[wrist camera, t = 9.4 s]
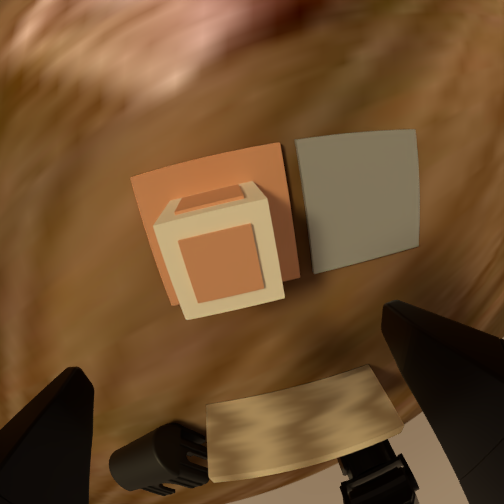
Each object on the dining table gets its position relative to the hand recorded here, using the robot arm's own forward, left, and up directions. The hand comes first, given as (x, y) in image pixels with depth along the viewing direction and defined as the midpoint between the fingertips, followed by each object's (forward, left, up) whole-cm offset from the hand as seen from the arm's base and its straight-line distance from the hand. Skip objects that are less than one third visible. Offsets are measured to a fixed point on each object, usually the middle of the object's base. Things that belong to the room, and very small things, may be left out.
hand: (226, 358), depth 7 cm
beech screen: (-3, +19, -12) cm, 22 cm away
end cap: (+13, +22, -12) cm, 28 cm away
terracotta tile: (0, 0, -12) cm, 12 cm away
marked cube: (0, 0, -11) cm, 11 cm away
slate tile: (-10, 0, -12) cm, 15 cm away
